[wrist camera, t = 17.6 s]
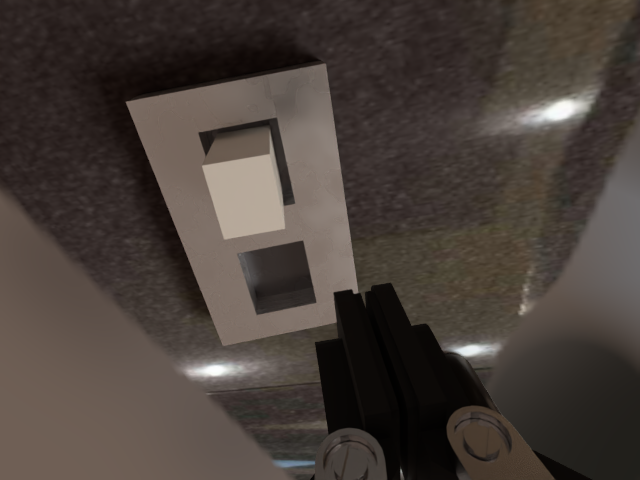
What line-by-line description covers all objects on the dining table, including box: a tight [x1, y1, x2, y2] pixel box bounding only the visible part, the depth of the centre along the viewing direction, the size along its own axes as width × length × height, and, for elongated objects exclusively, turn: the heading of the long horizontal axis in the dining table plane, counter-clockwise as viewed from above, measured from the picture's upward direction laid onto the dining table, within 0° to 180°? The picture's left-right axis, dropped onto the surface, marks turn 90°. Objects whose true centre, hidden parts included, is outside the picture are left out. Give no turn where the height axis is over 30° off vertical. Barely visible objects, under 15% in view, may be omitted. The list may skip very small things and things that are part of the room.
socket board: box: [126, 60, 358, 346], centre depth 29 cm, size 20×12×3 cm, turn 9°
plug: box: [202, 125, 285, 240], centre depth 24 cm, size 4×4×7 cm
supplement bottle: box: [444, 354, 502, 415], centre depth 37 cm, size 7×7×12 cm
